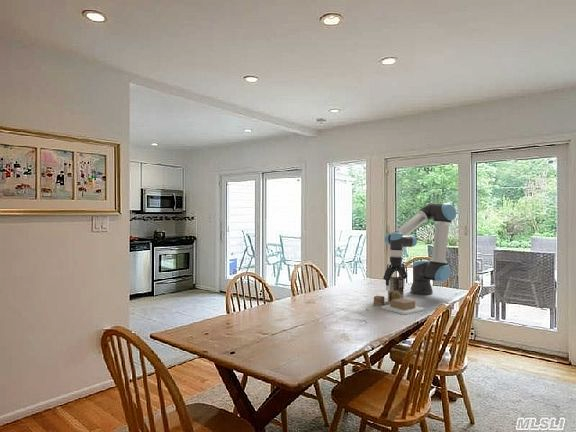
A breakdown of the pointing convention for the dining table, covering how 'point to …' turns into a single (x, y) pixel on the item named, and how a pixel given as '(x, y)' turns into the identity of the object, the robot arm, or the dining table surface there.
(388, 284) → the robot arm
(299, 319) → the dining table surface
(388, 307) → the tower base
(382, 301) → the brick
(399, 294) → the coffee box
